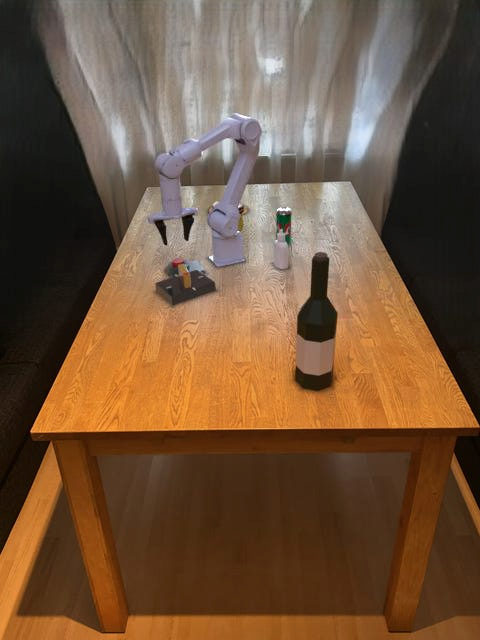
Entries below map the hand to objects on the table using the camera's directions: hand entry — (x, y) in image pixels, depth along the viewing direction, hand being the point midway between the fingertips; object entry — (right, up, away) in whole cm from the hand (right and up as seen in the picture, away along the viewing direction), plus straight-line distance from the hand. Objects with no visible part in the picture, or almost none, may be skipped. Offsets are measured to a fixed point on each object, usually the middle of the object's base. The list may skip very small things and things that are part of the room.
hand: (175, 242), depth 157 cm
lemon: (+18, +7, +31) cm, 36 cm away
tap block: (+3, -15, -5) cm, 16 cm away
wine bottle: (+35, -36, -40) cm, 65 cm away
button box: (+2, -8, +6) cm, 11 cm away
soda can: (+34, +3, +23) cm, 41 cm away
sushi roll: (+14, +20, +51) cm, 56 cm away
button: (0, -7, +4) cm, 8 cm away
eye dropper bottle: (+32, -7, +8) cm, 33 cm away
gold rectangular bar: (+3, -12, -6) cm, 14 cm away
